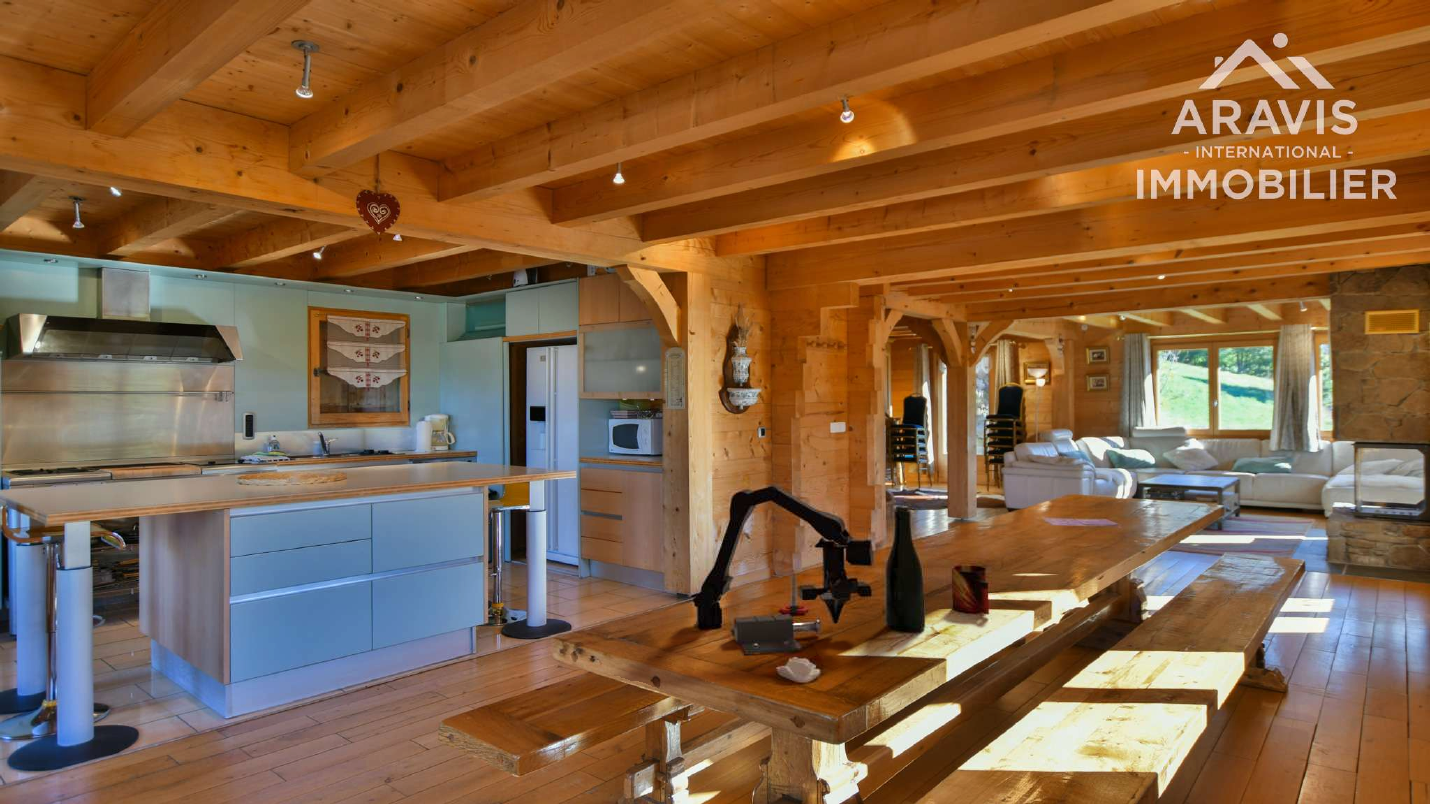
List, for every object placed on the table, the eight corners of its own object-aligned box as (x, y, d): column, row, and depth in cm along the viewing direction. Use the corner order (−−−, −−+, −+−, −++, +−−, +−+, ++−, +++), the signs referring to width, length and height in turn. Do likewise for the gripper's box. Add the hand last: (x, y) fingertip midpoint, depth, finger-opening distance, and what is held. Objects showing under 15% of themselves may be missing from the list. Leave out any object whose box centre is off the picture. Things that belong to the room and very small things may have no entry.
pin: (764, 638, 206) (764, 625, 206) (762, 634, 210) (761, 621, 210) (820, 634, 208) (820, 621, 208) (817, 631, 212) (817, 618, 212)
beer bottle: (926, 623, 219) (923, 504, 219) (924, 634, 209) (920, 509, 209) (887, 621, 222) (884, 503, 222) (883, 632, 212) (880, 508, 212)
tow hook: (781, 608, 241) (779, 615, 232) (780, 565, 242) (778, 570, 232) (809, 608, 240) (808, 615, 230) (808, 565, 240) (807, 570, 231)
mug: (987, 619, 222) (986, 576, 222) (945, 609, 233) (944, 568, 233) (1007, 612, 228) (1006, 570, 228) (965, 603, 239) (964, 563, 239)
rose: (772, 662, 177) (779, 649, 186) (772, 682, 177) (780, 668, 186) (816, 665, 174) (822, 651, 184) (817, 685, 174) (822, 670, 184)
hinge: (743, 655, 196) (742, 631, 196) (729, 629, 218) (728, 608, 218) (801, 651, 198) (801, 627, 198) (782, 625, 220) (781, 605, 220)
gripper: (806, 572, 201) (808, 634, 201) (877, 568, 204) (879, 629, 204) (796, 564, 212) (798, 622, 212) (864, 560, 215) (865, 618, 215)
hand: (835, 623), depth 211 cm, fingers closed
